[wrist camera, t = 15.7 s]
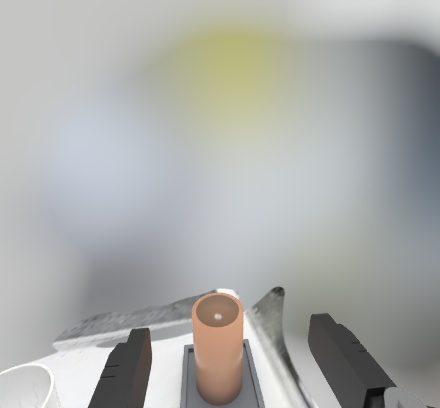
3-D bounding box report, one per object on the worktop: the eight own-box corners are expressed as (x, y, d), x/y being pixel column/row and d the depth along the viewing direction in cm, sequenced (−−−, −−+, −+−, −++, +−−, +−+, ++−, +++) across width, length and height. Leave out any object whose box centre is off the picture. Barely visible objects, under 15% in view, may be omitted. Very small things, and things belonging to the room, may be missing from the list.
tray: (180, 434, 24) (179, 424, 24) (185, 353, 34) (184, 345, 33) (265, 423, 25) (266, 413, 25) (247, 347, 34) (247, 339, 34)
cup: (195, 409, 26) (190, 332, 23) (196, 360, 32) (192, 294, 29) (246, 403, 26) (248, 327, 23) (238, 356, 32) (238, 290, 29)
